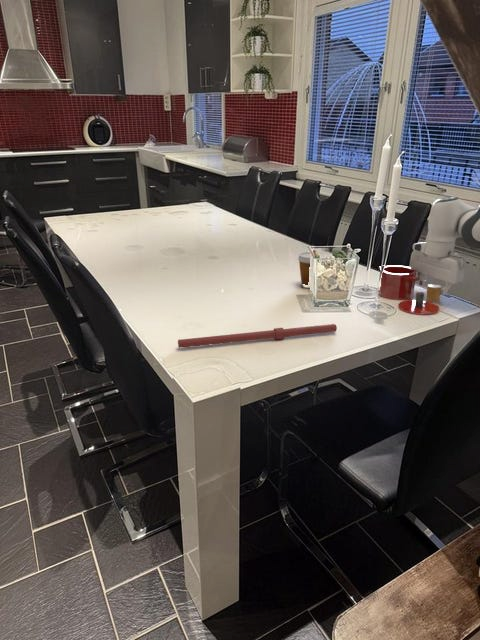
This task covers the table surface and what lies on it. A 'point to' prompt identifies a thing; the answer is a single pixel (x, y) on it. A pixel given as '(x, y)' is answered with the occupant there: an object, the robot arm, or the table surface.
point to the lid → (419, 306)
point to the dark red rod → (257, 335)
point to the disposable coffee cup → (304, 267)
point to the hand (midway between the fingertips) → (432, 289)
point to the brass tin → (433, 293)
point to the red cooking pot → (398, 282)
